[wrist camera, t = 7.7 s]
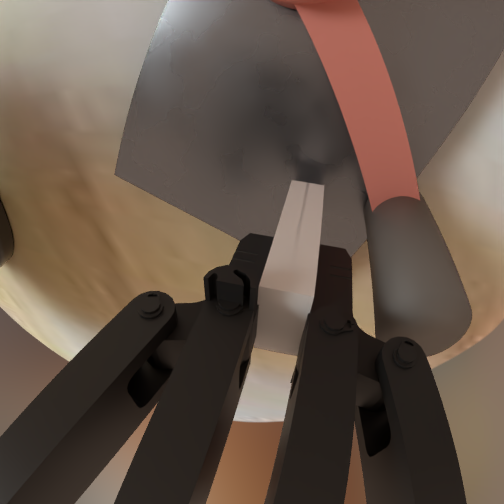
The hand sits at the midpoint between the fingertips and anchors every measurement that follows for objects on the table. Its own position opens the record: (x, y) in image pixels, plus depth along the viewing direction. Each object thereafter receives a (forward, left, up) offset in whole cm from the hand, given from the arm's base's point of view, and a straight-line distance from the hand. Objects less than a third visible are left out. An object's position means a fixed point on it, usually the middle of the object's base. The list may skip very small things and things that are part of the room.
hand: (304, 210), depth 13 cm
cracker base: (+8, +3, -3) cm, 9 cm away
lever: (+8, -1, -1) cm, 8 cm away
